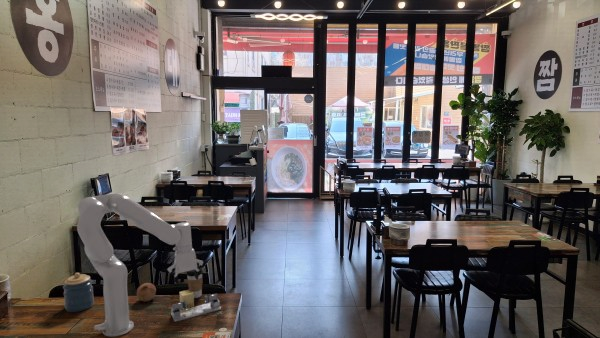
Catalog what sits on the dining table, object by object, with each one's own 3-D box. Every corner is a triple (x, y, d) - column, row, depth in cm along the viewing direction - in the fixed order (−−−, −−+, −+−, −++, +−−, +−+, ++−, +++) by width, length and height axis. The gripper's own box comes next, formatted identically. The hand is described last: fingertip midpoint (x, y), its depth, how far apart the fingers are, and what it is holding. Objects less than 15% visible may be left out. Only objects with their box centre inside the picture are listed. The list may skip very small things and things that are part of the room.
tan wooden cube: (182, 309, 192) (182, 295, 191) (180, 305, 197) (179, 291, 196) (194, 306, 195) (193, 293, 194) (191, 302, 199) (190, 289, 199)
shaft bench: (174, 321, 180) (174, 307, 179) (170, 314, 187) (170, 300, 186) (220, 309, 191) (220, 295, 190) (215, 303, 198) (214, 289, 197)
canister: (99, 300, 203) (96, 267, 201) (85, 312, 191) (82, 277, 188) (74, 300, 204) (71, 268, 202) (59, 312, 191) (55, 278, 189)
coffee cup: (206, 292, 211) (204, 265, 209) (200, 299, 202) (199, 271, 200) (191, 292, 211) (189, 265, 210) (185, 299, 203) (183, 271, 201)
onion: (147, 308, 200) (143, 295, 194) (134, 300, 203) (130, 287, 198) (161, 295, 207) (158, 283, 201) (148, 288, 210) (145, 275, 205)
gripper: (167, 253, 185) (170, 288, 187) (203, 246, 193) (206, 279, 196) (164, 249, 191) (167, 282, 193) (199, 242, 200) (201, 274, 202)
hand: (186, 281), depth 195 cm, fingers open, 9 cm apart
